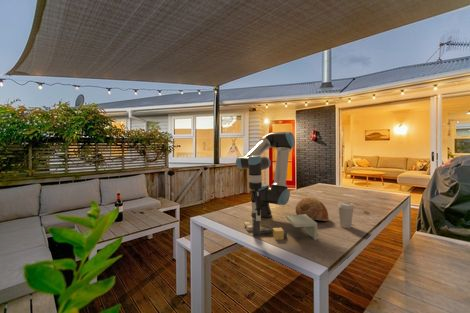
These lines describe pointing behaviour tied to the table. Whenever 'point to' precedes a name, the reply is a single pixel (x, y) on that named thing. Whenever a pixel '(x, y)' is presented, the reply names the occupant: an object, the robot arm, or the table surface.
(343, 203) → the coffee cup
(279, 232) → the cube
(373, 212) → the table surface
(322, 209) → the seashell
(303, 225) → the beige angled piece
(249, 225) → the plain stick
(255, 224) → the crook
